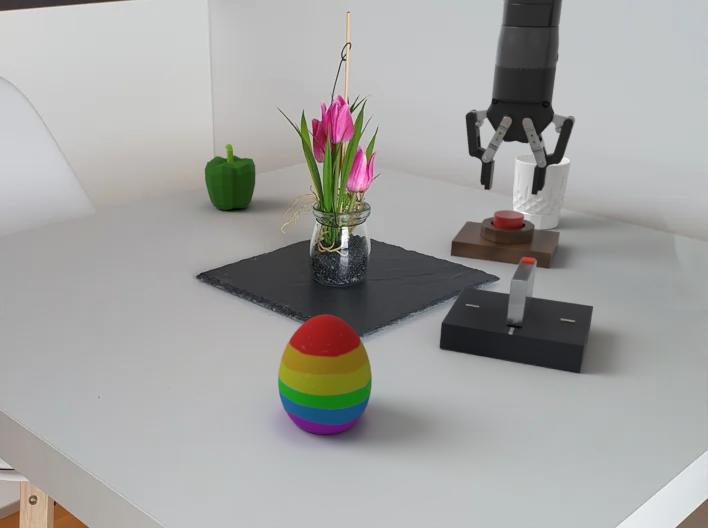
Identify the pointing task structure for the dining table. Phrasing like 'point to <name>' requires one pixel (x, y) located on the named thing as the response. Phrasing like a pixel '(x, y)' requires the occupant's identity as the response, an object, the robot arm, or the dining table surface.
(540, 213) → the white cup
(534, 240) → the button block
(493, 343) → the card holder base
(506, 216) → the button
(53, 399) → the dining table surface
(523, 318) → the grey rectangular box
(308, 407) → the decorative egg
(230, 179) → the bell pepper
